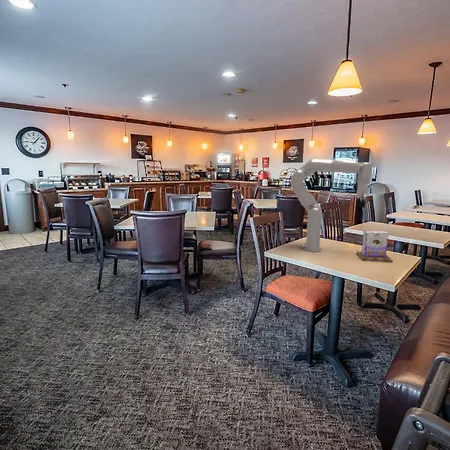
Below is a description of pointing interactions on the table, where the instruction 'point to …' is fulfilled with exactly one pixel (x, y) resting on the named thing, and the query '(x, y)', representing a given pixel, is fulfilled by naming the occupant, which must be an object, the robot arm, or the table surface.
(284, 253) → the table surface
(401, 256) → the table surface
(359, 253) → the serving board
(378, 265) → the table surface
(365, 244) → the candy box
